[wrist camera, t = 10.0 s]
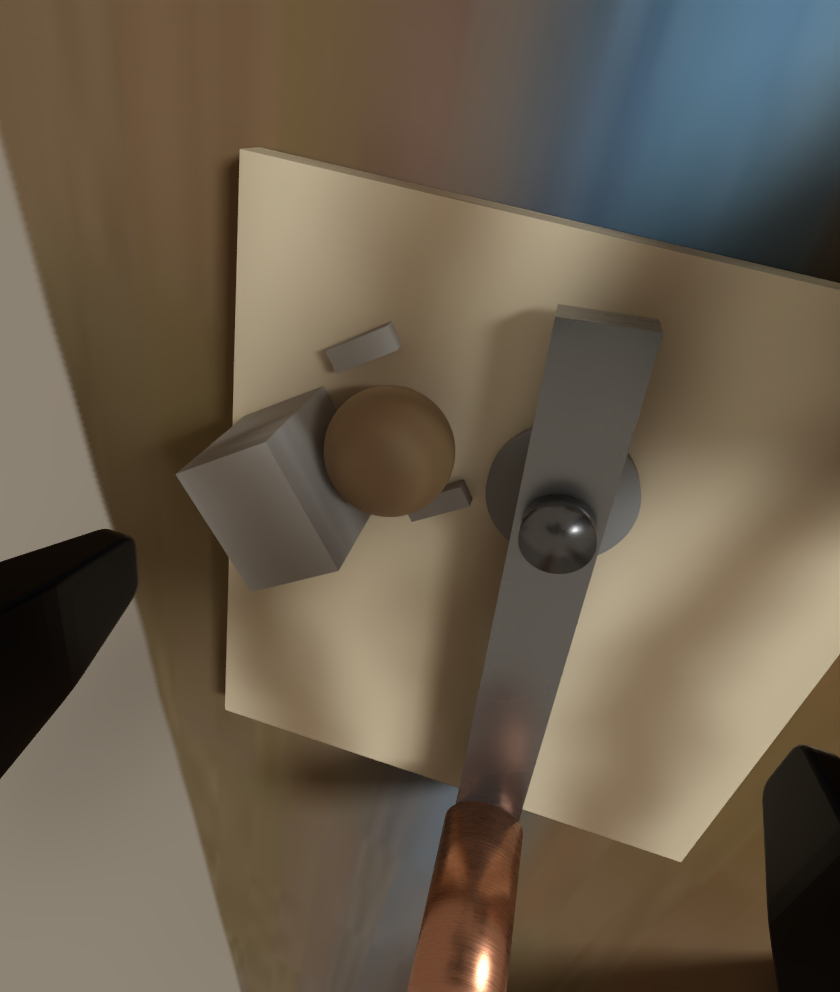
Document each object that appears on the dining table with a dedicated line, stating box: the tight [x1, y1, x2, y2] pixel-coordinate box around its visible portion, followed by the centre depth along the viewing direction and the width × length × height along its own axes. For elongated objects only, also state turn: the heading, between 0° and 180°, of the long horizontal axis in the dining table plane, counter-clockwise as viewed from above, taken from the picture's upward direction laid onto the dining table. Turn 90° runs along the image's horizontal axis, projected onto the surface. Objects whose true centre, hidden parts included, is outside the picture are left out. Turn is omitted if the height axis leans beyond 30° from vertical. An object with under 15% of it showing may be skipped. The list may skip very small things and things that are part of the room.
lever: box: [407, 304, 663, 992], centre depth 18 cm, size 21×3×7 cm, turn 174°
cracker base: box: [175, 147, 840, 862], centre depth 20 cm, size 20×22×5 cm
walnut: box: [323, 385, 455, 517], centre depth 18 cm, size 4×4×4 cm
